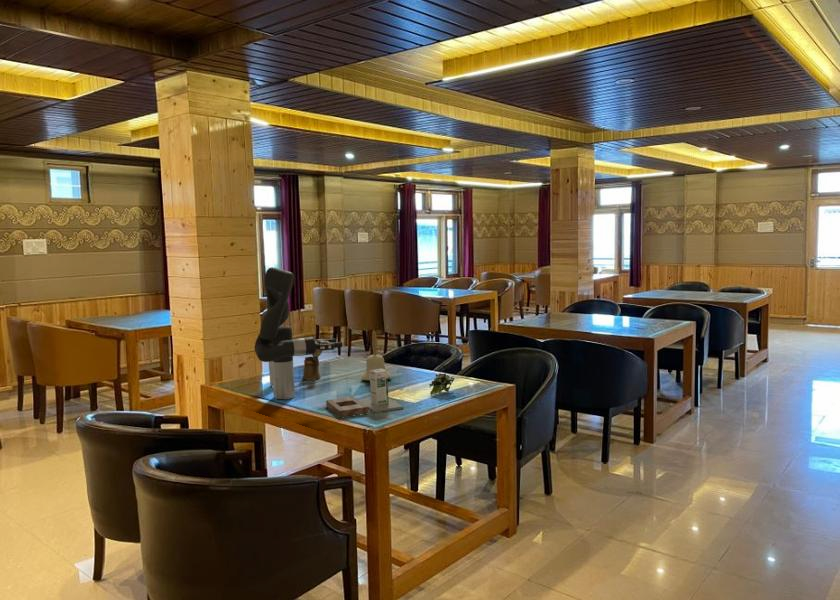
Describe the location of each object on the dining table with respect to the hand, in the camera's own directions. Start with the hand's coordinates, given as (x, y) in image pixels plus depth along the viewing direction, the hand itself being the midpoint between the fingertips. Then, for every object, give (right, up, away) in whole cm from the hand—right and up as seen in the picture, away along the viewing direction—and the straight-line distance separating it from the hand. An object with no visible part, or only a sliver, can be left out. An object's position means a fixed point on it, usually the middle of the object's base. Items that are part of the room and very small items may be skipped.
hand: (339, 342), depth 280 cm
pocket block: (+5, -28, -12) cm, 30 cm away
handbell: (+13, -22, +44) cm, 51 cm away
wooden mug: (-20, -23, +52) cm, 60 cm away
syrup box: (+18, -26, -6) cm, 32 cm away
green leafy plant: (+46, -24, +11) cm, 53 cm away
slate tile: (+18, -27, -6) cm, 33 cm away
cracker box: (-36, -24, +43) cm, 61 cm away
